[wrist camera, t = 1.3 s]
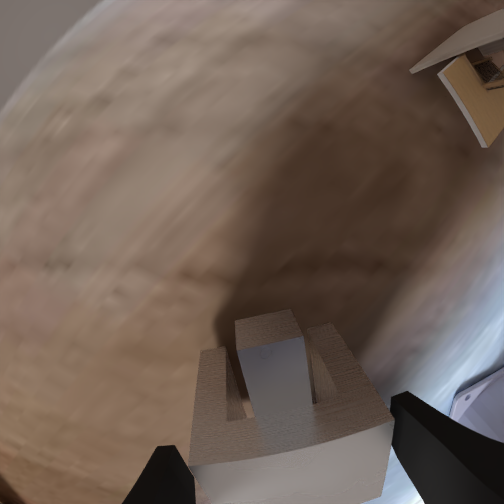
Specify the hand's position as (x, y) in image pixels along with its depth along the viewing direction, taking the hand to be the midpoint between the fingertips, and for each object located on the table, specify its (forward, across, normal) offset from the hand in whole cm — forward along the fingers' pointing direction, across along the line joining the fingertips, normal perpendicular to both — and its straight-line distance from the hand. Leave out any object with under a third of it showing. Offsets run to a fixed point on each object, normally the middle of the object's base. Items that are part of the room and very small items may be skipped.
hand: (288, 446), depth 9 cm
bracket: (+4, 0, 0) cm, 4 cm away
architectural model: (+5, -11, -12) cm, 17 cm away
